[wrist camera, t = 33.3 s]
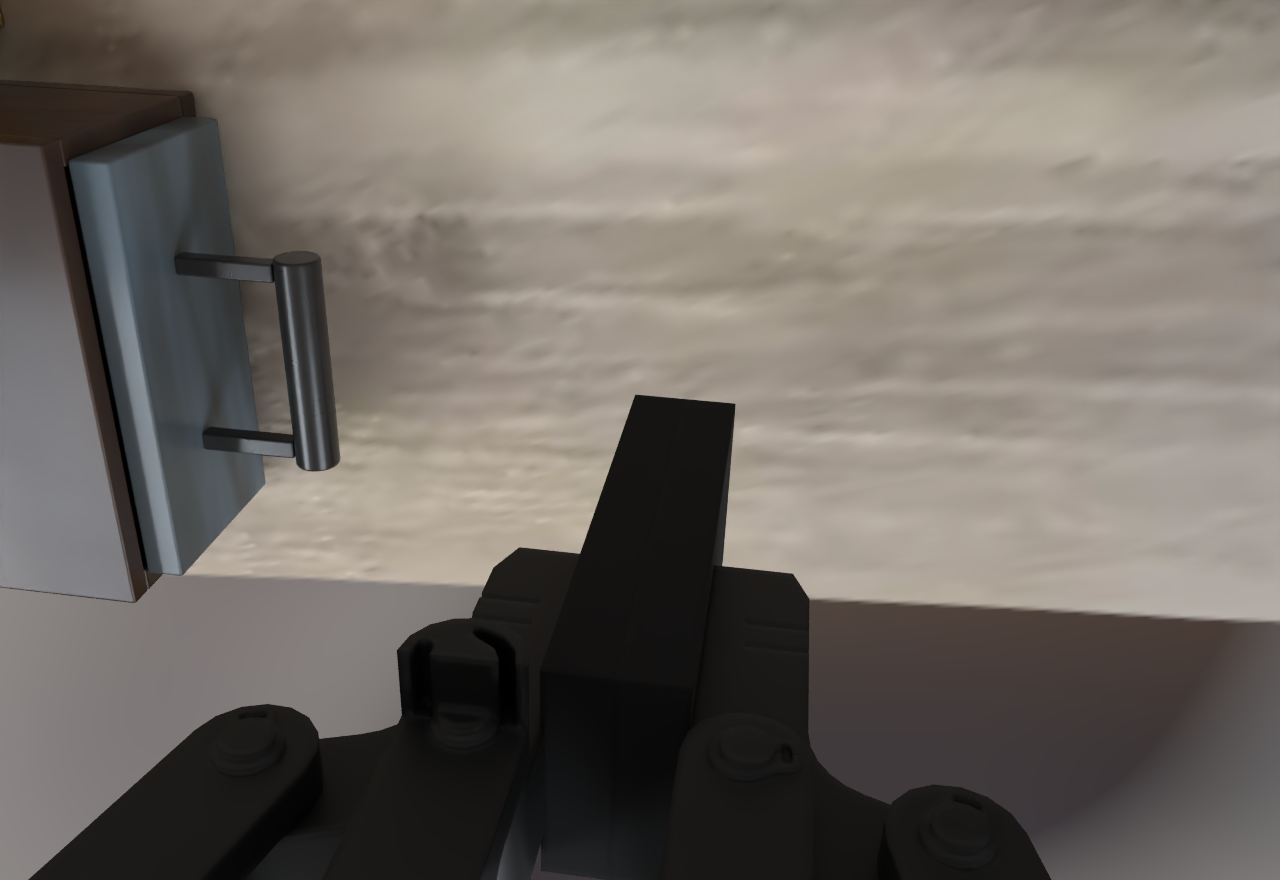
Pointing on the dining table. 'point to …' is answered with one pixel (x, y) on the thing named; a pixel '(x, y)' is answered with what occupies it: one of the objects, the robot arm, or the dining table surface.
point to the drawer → (191, 336)
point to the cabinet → (61, 350)
